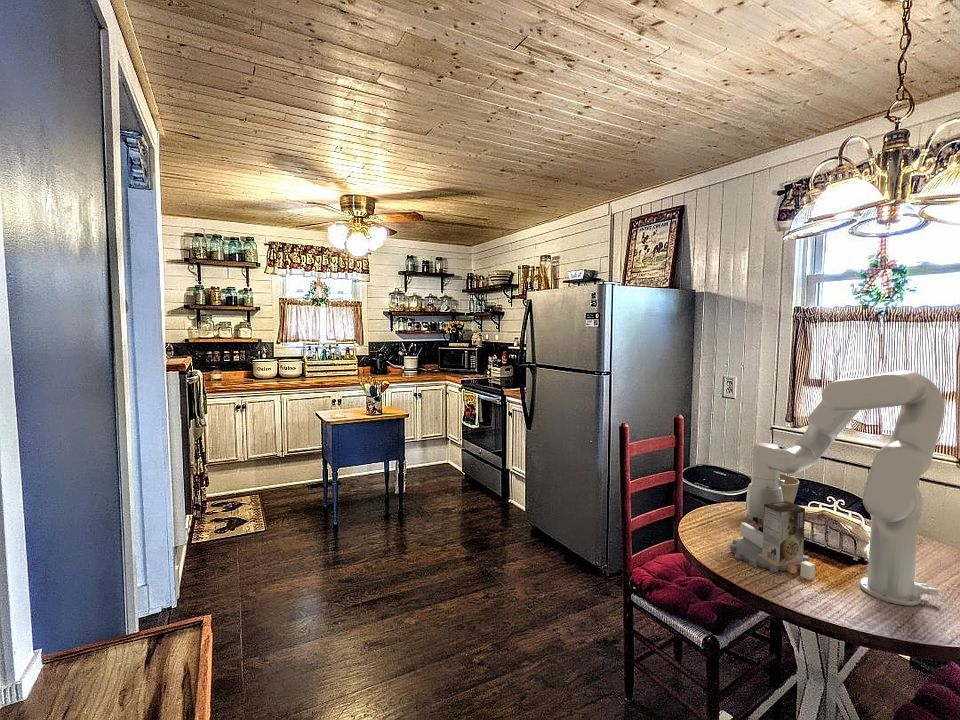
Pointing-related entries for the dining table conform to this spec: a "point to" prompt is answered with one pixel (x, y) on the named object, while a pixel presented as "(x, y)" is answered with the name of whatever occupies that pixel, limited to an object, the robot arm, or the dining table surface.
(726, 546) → the dining table surface
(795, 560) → the coffee box
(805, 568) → the wheel stand
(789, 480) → the plant pot
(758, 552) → the index wheel
